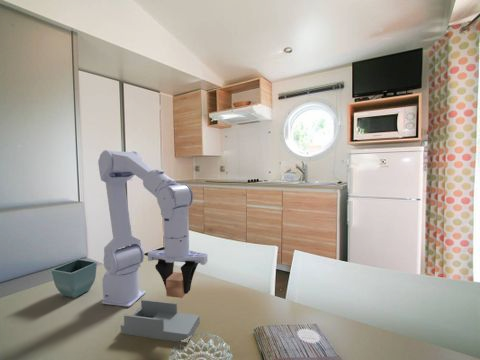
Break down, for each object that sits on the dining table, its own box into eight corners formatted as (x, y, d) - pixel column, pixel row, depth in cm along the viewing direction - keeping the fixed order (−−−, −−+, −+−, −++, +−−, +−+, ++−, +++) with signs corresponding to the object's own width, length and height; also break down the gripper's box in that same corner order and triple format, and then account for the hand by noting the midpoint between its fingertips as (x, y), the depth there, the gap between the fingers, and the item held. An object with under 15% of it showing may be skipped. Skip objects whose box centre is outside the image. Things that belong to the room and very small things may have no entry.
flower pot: (72, 303, 70) (71, 273, 70) (52, 298, 73) (50, 269, 73) (99, 288, 79) (97, 261, 78) (79, 284, 81) (78, 258, 81)
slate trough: (121, 333, 57) (120, 315, 57) (139, 315, 64) (138, 299, 63) (187, 343, 53) (187, 323, 53) (199, 323, 60) (199, 305, 60)
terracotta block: (166, 296, 56) (165, 279, 56) (174, 287, 60) (174, 272, 60) (182, 297, 55) (181, 281, 55) (189, 289, 59) (189, 273, 59)
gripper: (139, 238, 55) (141, 296, 55) (199, 241, 52) (200, 303, 52) (156, 230, 62) (158, 282, 62) (209, 232, 58) (211, 287, 59)
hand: (178, 290), depth 58 cm, fingers closed on terracotta block, 4 cm apart
